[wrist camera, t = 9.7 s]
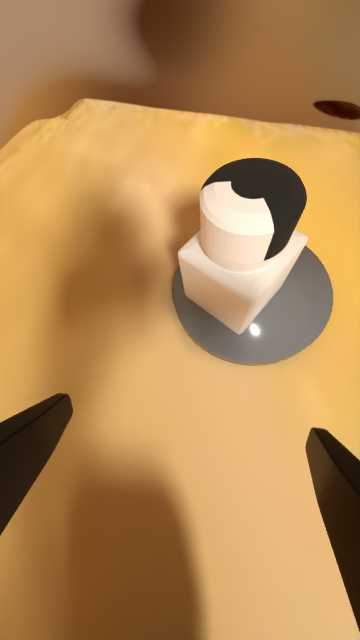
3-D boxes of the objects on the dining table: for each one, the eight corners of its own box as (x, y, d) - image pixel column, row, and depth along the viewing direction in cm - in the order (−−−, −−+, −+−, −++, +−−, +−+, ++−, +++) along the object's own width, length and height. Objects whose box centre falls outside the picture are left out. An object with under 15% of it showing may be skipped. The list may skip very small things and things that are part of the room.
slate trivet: (357, 341, 22) (367, 336, 20) (195, 384, 22) (194, 382, 20) (286, 221, 28) (290, 211, 27) (161, 255, 28) (159, 247, 27)
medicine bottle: (225, 251, 25) (239, 128, 14) (282, 286, 23) (350, 169, 12) (183, 295, 24) (163, 195, 13) (239, 336, 22) (272, 257, 11)
